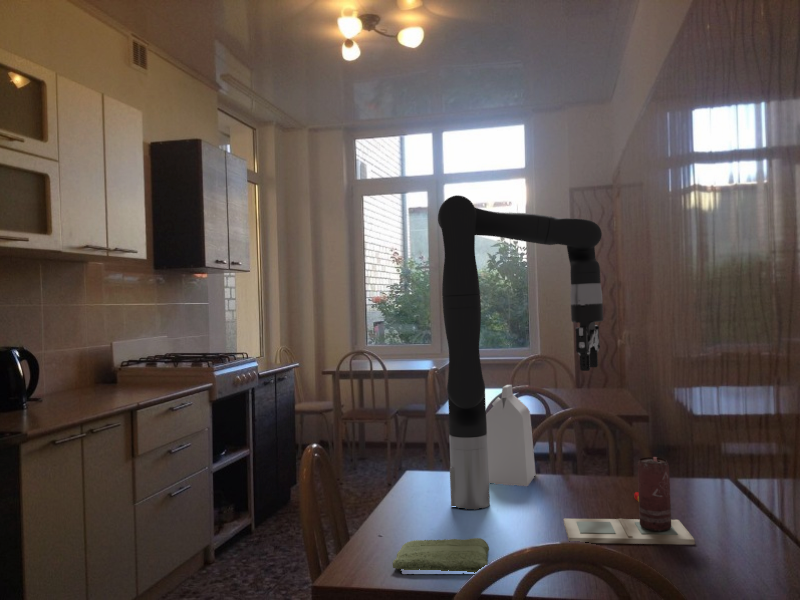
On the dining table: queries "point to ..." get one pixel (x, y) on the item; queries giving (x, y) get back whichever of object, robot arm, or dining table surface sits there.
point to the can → (654, 494)
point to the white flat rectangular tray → (624, 532)
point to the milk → (510, 441)
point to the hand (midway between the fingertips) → (589, 368)
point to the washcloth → (443, 555)
